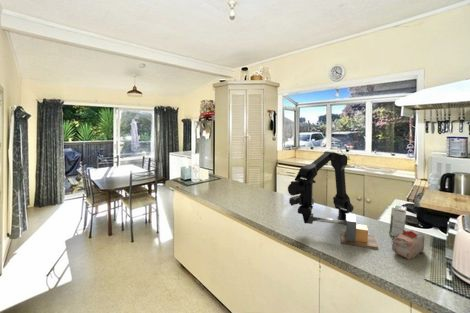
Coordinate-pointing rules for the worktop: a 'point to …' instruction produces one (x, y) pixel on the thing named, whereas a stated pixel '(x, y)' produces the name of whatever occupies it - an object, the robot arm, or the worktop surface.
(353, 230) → the stand
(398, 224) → the syrup box
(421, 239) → the food item
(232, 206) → the worktop surface
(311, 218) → the shaft
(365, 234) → the block
